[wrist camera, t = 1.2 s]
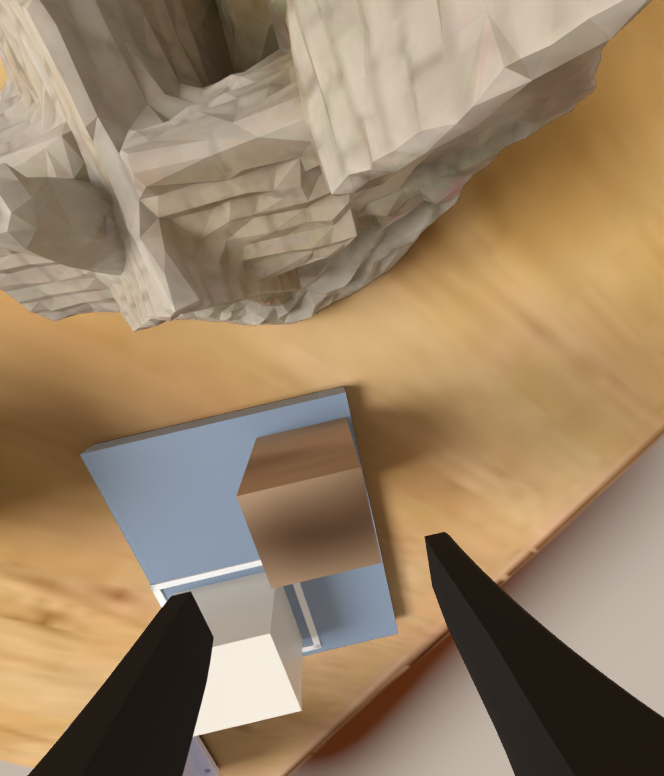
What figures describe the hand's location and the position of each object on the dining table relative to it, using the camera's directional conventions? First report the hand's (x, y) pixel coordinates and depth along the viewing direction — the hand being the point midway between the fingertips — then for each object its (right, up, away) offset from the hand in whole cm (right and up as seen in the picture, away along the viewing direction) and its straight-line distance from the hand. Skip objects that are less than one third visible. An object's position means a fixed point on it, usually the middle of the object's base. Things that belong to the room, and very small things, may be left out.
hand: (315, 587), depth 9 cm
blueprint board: (-3, -3, +9) cm, 10 cm away
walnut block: (0, +2, +6) cm, 7 cm away
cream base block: (-5, -8, +9) cm, 13 cm away
